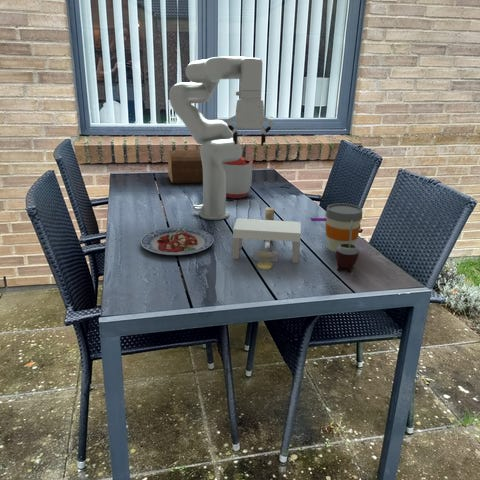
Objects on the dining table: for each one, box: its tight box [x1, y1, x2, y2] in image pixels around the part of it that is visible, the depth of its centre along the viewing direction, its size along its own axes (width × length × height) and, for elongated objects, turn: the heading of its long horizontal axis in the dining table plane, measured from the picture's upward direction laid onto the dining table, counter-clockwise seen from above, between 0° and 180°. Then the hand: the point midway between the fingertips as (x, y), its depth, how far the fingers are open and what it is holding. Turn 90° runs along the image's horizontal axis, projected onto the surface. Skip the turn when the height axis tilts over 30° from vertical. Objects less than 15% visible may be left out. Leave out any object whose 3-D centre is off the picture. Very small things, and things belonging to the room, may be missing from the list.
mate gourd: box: [335, 220, 359, 274], centre depth 149 cm, size 8×8×15 cm
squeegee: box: [310, 217, 327, 222], centre depth 195 cm, size 29×2×10 cm
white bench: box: [232, 217, 302, 264], centre depth 160 cm, size 22×11×10 cm, turn 84°
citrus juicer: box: [222, 157, 255, 199], centre depth 224 cm, size 16×17×20 cm
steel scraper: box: [253, 206, 279, 262], centre depth 164 cm, size 8×21×12 cm, turn 174°
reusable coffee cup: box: [325, 202, 363, 253], centre depth 165 cm, size 13×13×15 cm
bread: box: [167, 148, 203, 184], centre depth 251 cm, size 18×30×16 cm, turn 104°
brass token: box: [256, 260, 273, 271], centre depth 152 cm, size 5×5×1 cm
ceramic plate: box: [140, 226, 214, 256], centre depth 167 cm, size 26×26×3 cm
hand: (249, 144), depth 171 cm, fingers open, 9 cm apart
